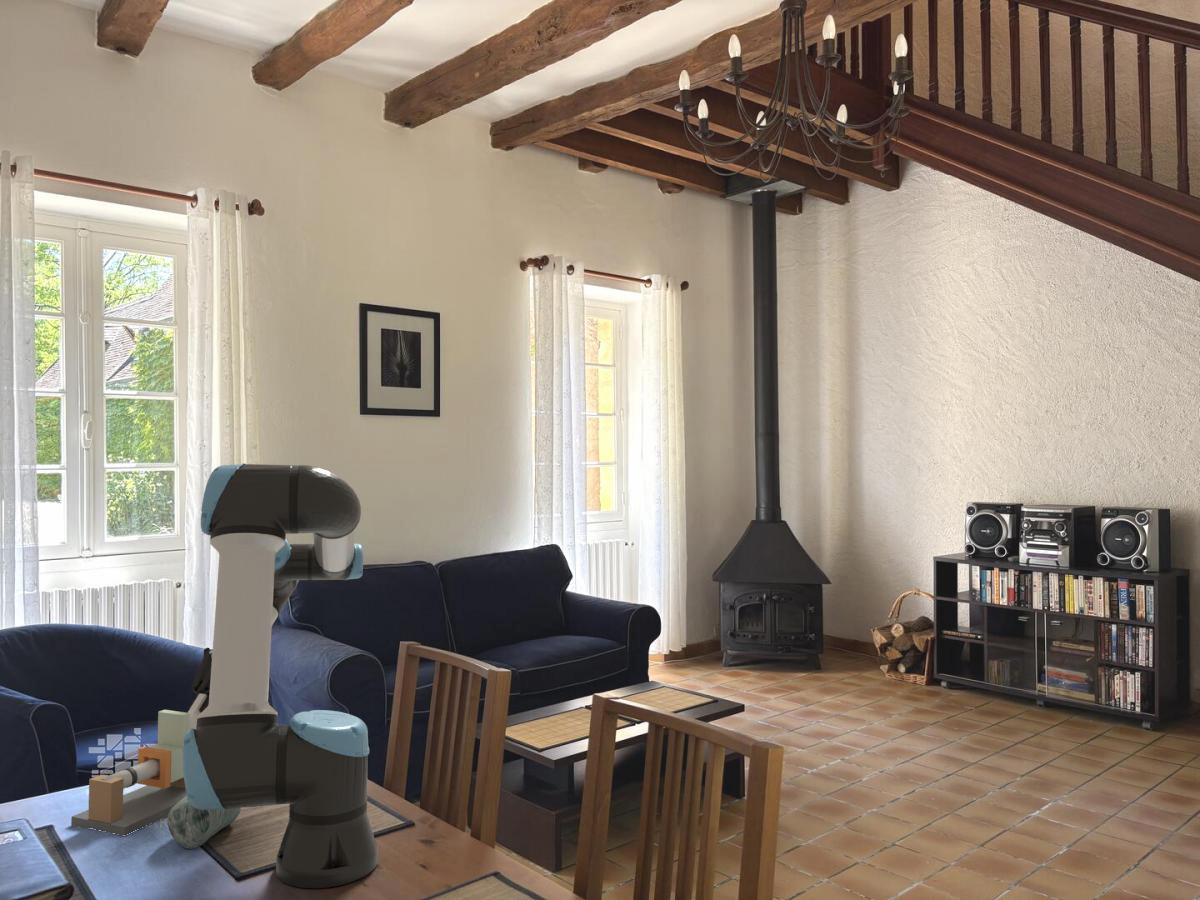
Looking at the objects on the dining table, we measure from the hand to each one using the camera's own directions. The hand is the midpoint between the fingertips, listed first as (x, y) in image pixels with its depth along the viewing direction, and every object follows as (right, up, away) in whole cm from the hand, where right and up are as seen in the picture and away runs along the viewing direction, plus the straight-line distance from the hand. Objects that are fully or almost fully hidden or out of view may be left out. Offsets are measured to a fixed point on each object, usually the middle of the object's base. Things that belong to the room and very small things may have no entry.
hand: (187, 727), depth 170 cm
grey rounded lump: (+12, -12, -20) cm, 26 cm away
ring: (-3, -8, -8) cm, 11 cm away
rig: (-3, -12, -9) cm, 15 cm away
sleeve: (-2, -8, -5) cm, 9 cm away
